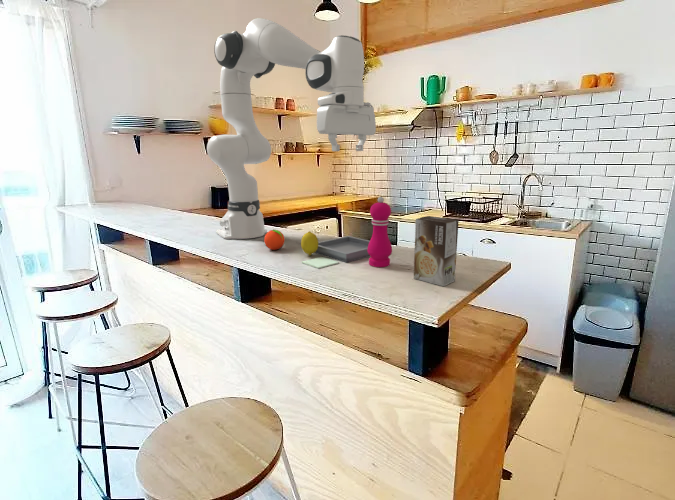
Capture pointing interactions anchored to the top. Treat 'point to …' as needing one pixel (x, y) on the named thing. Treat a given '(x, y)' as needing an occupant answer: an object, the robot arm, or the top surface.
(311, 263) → the green mat
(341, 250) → the slate tray
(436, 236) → the coffee box
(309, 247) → the lemon
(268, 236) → the clementine
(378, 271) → the top surface
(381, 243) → the pepper mill
